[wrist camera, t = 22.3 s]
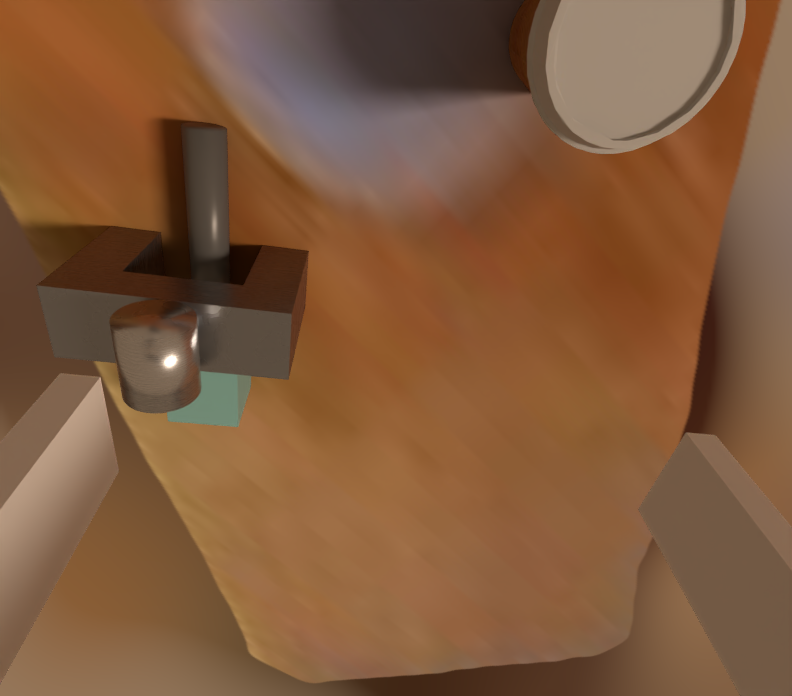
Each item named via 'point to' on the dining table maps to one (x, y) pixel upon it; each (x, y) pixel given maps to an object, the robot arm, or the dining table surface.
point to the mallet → (210, 261)
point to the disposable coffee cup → (623, 65)
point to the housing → (172, 317)
